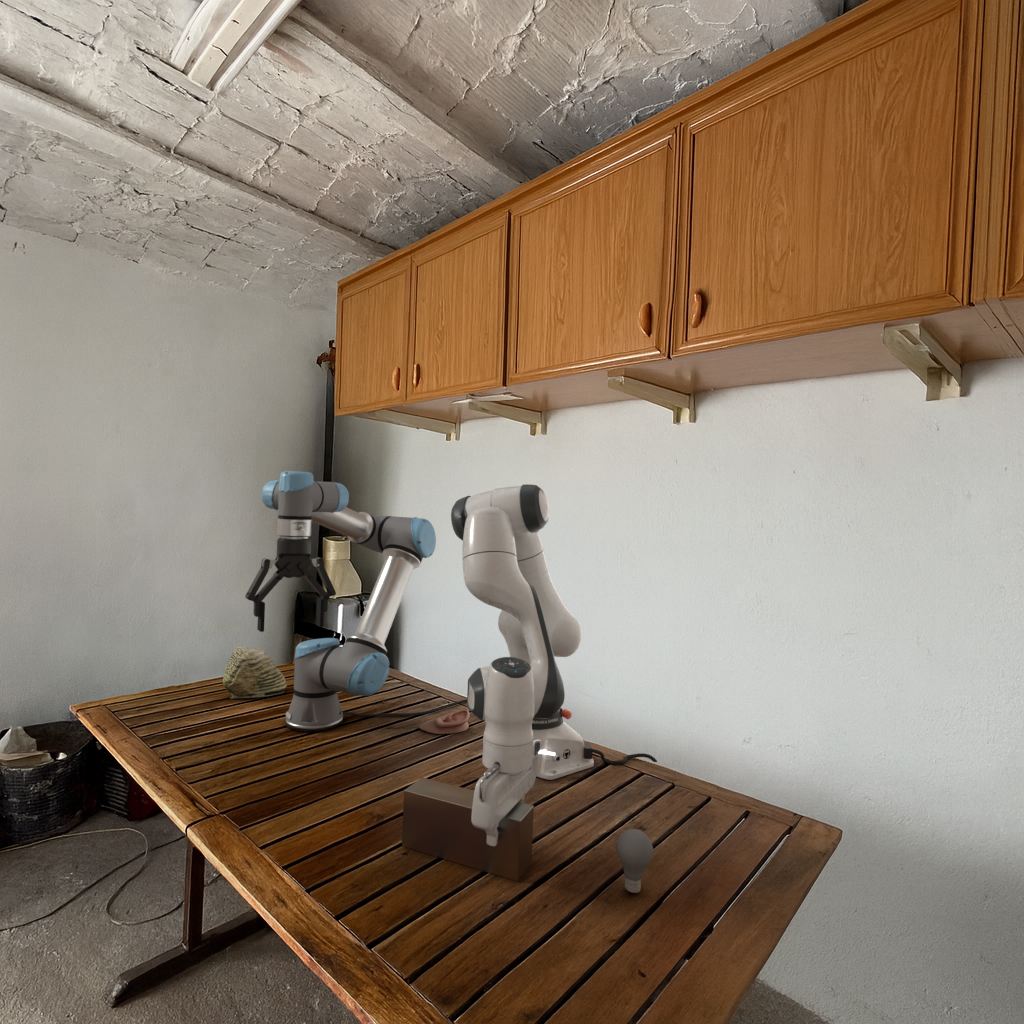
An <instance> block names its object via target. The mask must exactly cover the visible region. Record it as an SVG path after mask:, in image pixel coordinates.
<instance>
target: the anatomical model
mask: <svg viewBox="0 0 1024 1024" xmlns="http://www.w3.org/2000/svg"><path fill="white" fill-rule="evenodd" d="M470 715H471V714H470V710H469V709H461V710H457V711H454V712H450V713H447V714H445V715H442V716H439V717H437V718H436V717H435V718H432V719H429V720H427V721H424V722H422V723H421V724H420V725H419V726H418V728H419V730H421V731H423V732H427V733H430V734H434V735H445V734H447V735H448V734H455V733H456V734H457V733H462V732H465V731H467V730H468V729H469V726H470V724H469V722H468V721H469V720H470V717H471V716H470Z"/></svg>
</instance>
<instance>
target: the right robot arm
mask: <svg viewBox="0 0 1024 1024" xmlns="http://www.w3.org/2000/svg"><path fill="white" fill-rule="evenodd" d="M549 514H550V503H549V500H548V498H547V496H546V494H545V492H544V490H543V489H542V488H541V487H539V486H538V485H537V484H527V483H526V484H522V485H518V486H517V485H516V486H515V485H514V486H505V487H498V488H495V489H493V490H488V491H483V492H480V493H477V494H474V495H467V496H463V497H462V498H459V499H457V500H456V501H455V503H454V504H453V506H452V507H451V511H450V521H451V526H452V529H453V532H454V534H455V535H456V537H457V538H458V539H460V540H461V541H462V553H461V554H462V557H461V558H462V573H463V579H464V584H465V587H466V589H467V590H468V592H469V593H470V594H471V595H472V596H473V597H474V598H476V600H478V601H480V602H482V603H483V604H486V605H487V606H491V607H493V608H496V609H498V610H501V611H500V612H499V615H498V619H497V626H498V630H499V632H500V634H501V635H502V637H503V639H504V641H505V643H506V647H507V650H508V653H509V656H504V657H503V656H502V657H498V658H496V659H494V660H492V661H491V662H490V664H489V665H487V666H482V667H478V668H477V669H475V671H473V672H472V674H471V675H470V676H469V677H468V679H467V694H466V700H467V702H466V707H467V710H468V711H469V712H470V713H472V715H474V716H475V717H476V718H477V719H479V720H480V721H484V722H485V727H484V731H483V737H482V755H481V756H482V757H481V761H482V765H483V766H484V767H485V768H486V770H484V772H483V774H482V776H481V777H479V779H478V780H477V782H476V783H475V786H474V790H473V791H474V797H473V806H472V817H471V821H472V824H473V826H474V827H476V828H479V829H482V830H485V831H486V834H487V844H488V845H490V846H496V845H497V844H498V842H499V841H500V839H499V838H500V833H499V832H498V831H497V827H498V824H499V822H500V821H501V820H502V819H503V818H504V817H505V816H506V814H507V813H508V812H509V811H510V810H511V809H512V808H513V807H514V806H515V805H516V804H517V803H518V802H521V803H524V802H525V798H526V797H525V796H526V794H527V793H528V792H529V791H530V790H531V789H532V788H533V787H534V785H535V784H536V783H535V782H536V778H540V779H543V780H548V781H554V780H556V779H560V778H562V777H565V776H568V775H572V774H574V773H577V772H581V771H584V770H588V769H590V768H593V767H594V766H595V761H594V758H593V754H597V755H599V756H600V758H601V761H602V762H604V763H605V764H608V765H613V766H614V765H624V764H625V763H626V762H627V761H628V760H629V759H635V758H647V759H649V760H651V761H652V762H653V763H658V760H657V759H656V758H655V757H654V756H652V755H651V754H648V753H643V752H640V753H632V754H627V755H625V756H623V758H622V759H620V760H619V759H618V760H612V759H611V760H610V759H607V758H606V757H605V754H604V752H602V751H601V750H600V749H595V748H593V747H592V744H591V742H590V741H589V742H588V741H584V739H583V737H582V736H581V735H580V734H579V732H577V731H576V730H575V729H574V728H572V727H571V726H570V725H569V724H567V723H566V722H565V721H564V719H565V720H570V719H571V718H572V715H573V713H572V711H570V710H568V709H567V708H563V707H562V706H563V705H564V704H565V703H564V702H565V697H566V696H565V695H566V694H565V687H564V682H563V681H564V680H563V679H562V675H561V673H560V670H559V667H558V665H557V661H556V658H567V657H570V656H572V655H574V654H575V653H576V652H577V650H578V649H579V647H580V646H581V643H582V640H583V628H582V624H581V623H580V621H579V620H578V619H577V618H576V617H575V616H574V615H573V614H572V613H571V612H570V611H569V610H568V608H567V607H566V605H565V603H564V601H563V600H562V598H561V597H560V594H559V593H558V590H557V589H556V587H555V585H554V583H553V580H552V578H551V574H550V570H549V566H548V563H547V558H546V555H545V551H544V547H543V543H542V539H541V536H540V533H539V532H540V531H541V530H542V529H544V528H545V526H546V525H547V524H548V522H549Z"/></svg>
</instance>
